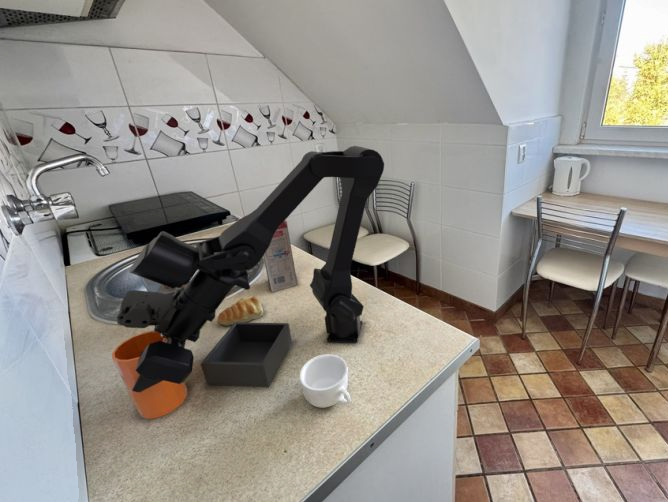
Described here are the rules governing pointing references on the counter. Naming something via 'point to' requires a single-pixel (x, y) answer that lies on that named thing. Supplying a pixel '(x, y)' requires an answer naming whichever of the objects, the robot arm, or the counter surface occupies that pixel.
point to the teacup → (325, 380)
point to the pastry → (241, 311)
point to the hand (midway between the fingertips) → (141, 374)
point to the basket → (248, 355)
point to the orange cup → (126, 358)
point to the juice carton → (280, 260)
